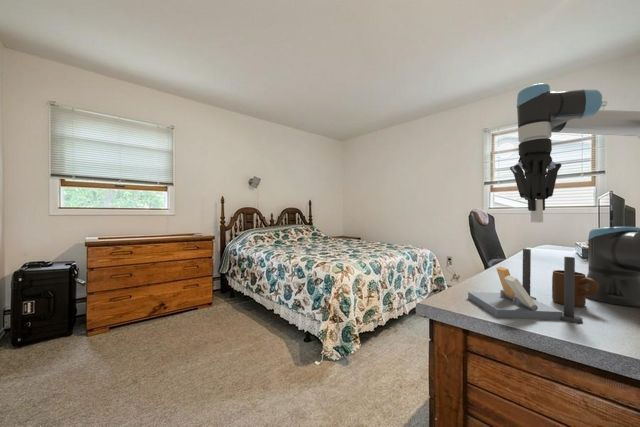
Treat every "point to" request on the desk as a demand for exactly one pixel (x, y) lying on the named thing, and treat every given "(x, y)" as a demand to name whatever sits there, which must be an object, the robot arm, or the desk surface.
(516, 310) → the panel
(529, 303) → the paddle
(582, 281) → the mug
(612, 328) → the desk surface
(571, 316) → the post
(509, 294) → the paddle
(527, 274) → the post
